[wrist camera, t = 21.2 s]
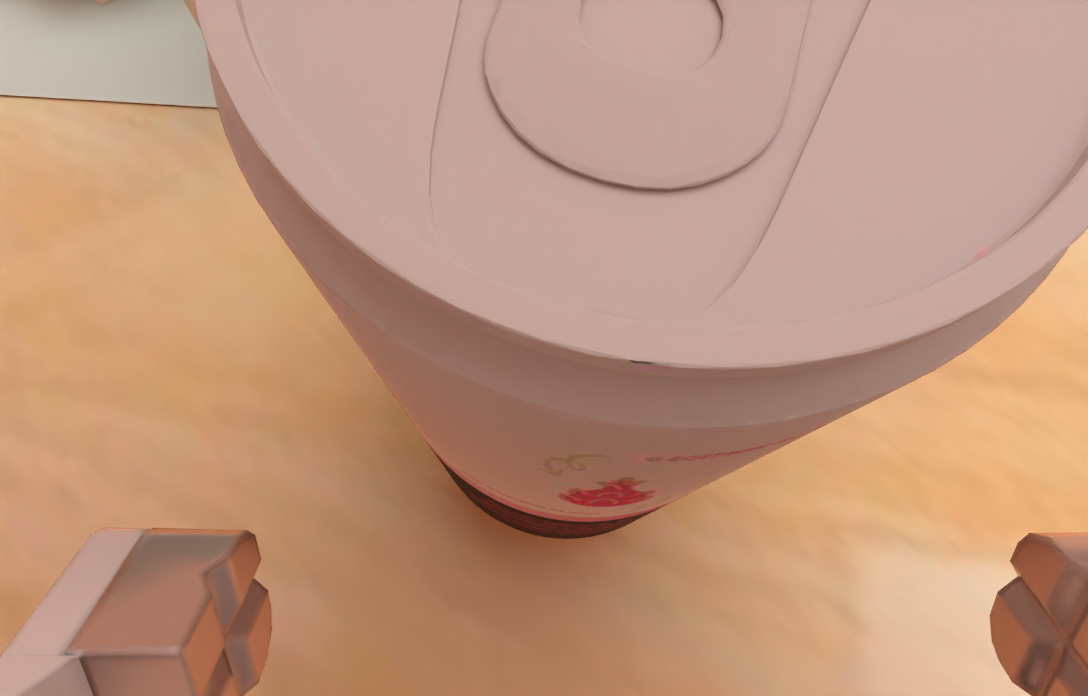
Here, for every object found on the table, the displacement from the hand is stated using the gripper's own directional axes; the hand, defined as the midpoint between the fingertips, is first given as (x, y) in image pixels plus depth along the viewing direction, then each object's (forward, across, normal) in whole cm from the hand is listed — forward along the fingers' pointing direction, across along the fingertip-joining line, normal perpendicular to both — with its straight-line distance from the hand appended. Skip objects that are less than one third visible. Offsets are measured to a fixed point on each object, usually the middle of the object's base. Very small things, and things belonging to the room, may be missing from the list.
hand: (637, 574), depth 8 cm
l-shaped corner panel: (+20, +14, -6) cm, 25 cm away
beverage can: (+10, 0, +4) cm, 11 cm away
